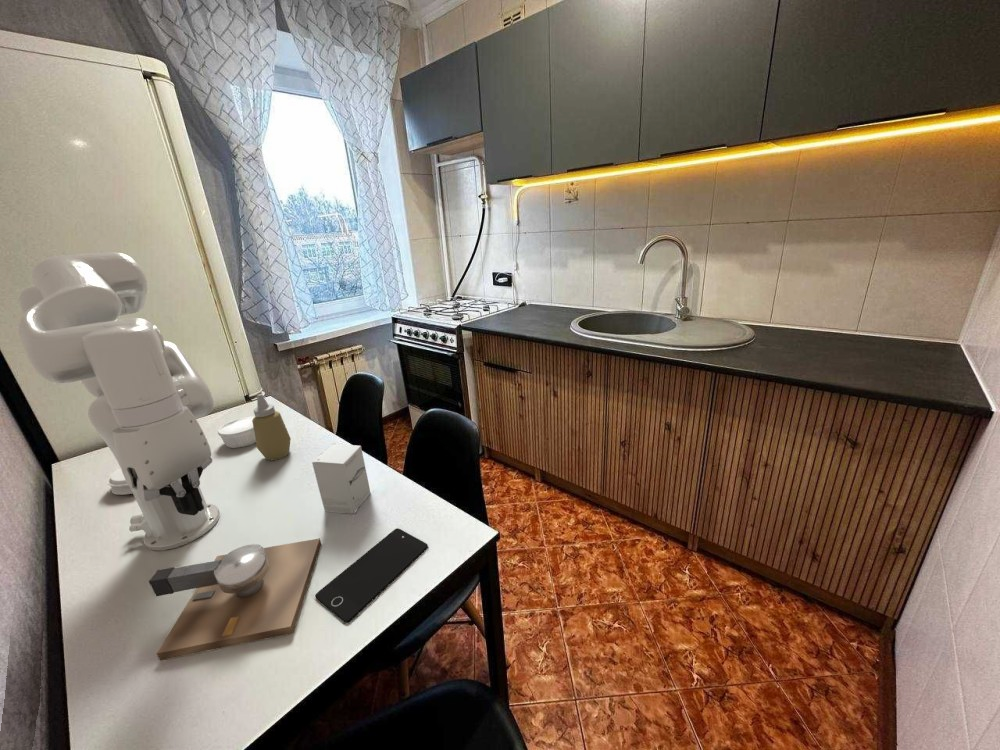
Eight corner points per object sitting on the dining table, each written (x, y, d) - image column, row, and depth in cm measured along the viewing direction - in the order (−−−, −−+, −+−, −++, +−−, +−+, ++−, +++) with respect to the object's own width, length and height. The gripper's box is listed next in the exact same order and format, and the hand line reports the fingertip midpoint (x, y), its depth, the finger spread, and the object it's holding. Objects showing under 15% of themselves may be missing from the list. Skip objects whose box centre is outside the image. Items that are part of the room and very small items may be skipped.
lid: (103, 504, 91) (93, 486, 90) (125, 475, 102) (117, 459, 101) (168, 488, 96) (161, 470, 94) (183, 462, 107) (177, 446, 105)
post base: (159, 660, 56) (149, 641, 55) (219, 562, 73) (212, 545, 71) (293, 633, 59) (286, 614, 57) (321, 544, 75) (316, 528, 74)
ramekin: (242, 430, 122) (237, 415, 121) (274, 431, 121) (270, 416, 119) (213, 450, 112) (207, 433, 110) (248, 451, 110) (242, 434, 109)
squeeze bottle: (300, 451, 108) (283, 392, 102) (271, 466, 102) (251, 404, 96) (283, 444, 113) (266, 387, 106) (255, 458, 106) (235, 398, 100)
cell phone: (314, 599, 65) (313, 595, 64) (397, 530, 78) (397, 527, 78) (347, 626, 60) (346, 622, 59) (429, 548, 73) (429, 544, 73)
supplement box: (354, 515, 83) (342, 464, 78) (323, 511, 84) (310, 461, 80) (372, 492, 89) (361, 444, 85) (343, 490, 91) (331, 443, 86)
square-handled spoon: (275, 554, 68) (270, 540, 67) (260, 589, 62) (254, 573, 60) (173, 572, 66) (166, 558, 64) (146, 610, 59) (138, 594, 58)
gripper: (180, 389, 65) (216, 481, 72) (69, 433, 52) (125, 542, 58) (215, 390, 63) (248, 485, 70) (109, 436, 50) (162, 549, 56)
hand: (192, 511), depth 64 cm, fingers closed
